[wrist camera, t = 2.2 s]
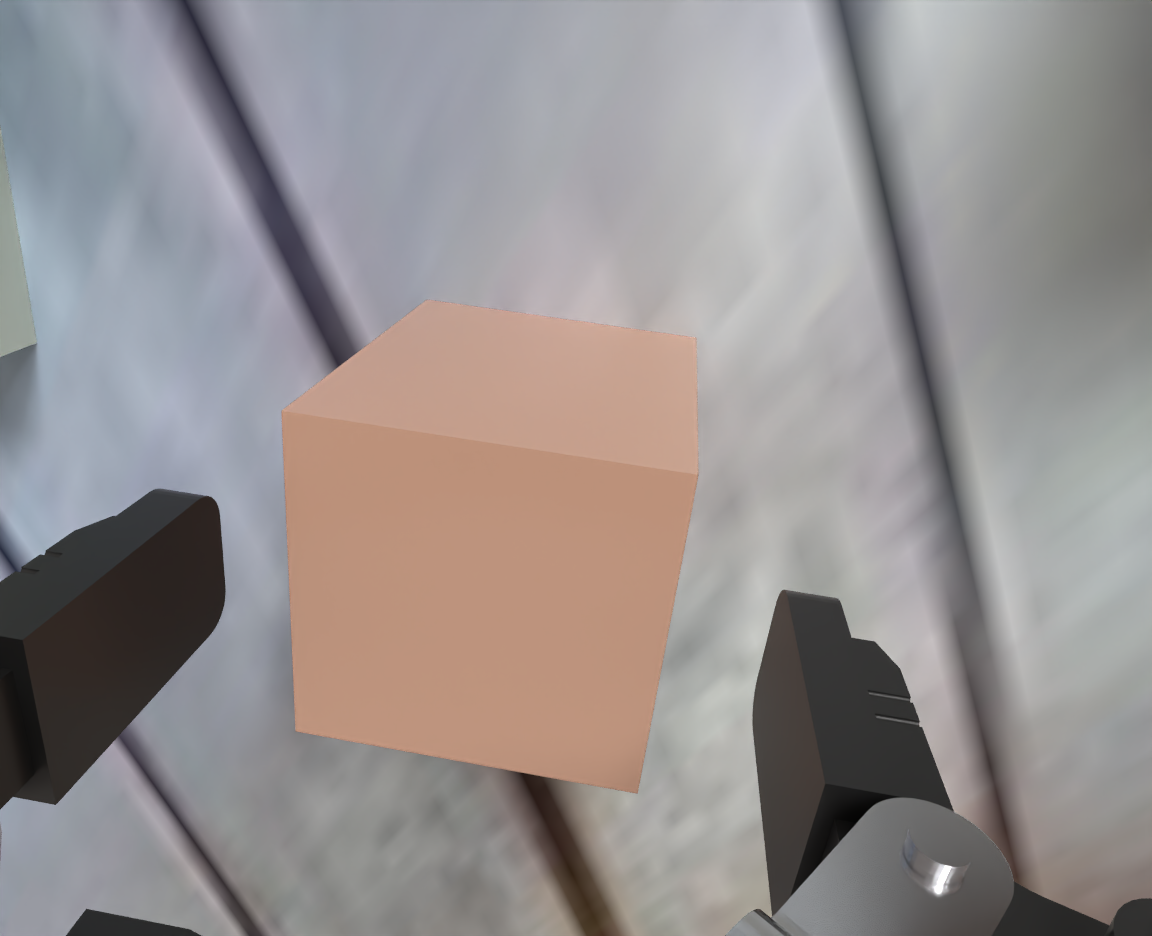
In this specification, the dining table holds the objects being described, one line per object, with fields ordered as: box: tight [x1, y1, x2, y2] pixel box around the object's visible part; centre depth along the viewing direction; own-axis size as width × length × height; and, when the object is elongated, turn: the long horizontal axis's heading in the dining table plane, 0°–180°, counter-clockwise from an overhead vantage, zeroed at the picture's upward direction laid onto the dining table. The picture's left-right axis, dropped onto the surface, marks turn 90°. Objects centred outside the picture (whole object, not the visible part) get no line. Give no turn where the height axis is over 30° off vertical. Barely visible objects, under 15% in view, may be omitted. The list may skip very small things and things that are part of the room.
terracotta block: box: [282, 300, 698, 794], centre depth 13 cm, size 5×5×6 cm
